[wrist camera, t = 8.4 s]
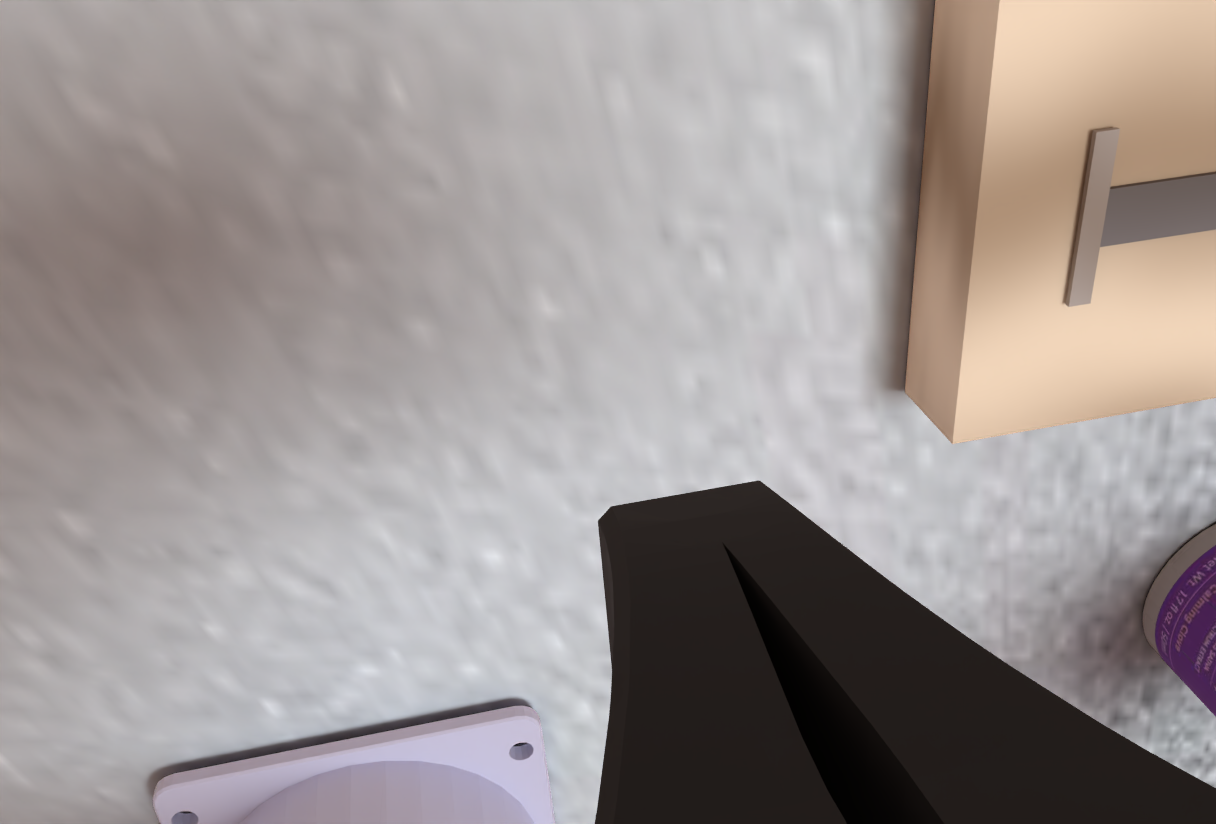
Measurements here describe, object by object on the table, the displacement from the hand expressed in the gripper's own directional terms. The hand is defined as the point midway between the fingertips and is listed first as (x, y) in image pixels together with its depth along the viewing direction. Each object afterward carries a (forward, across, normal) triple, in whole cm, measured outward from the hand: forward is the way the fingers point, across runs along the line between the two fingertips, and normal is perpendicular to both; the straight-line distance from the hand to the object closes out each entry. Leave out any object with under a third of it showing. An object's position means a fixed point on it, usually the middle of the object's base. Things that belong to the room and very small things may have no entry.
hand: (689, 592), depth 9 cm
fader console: (+10, -14, +1) cm, 17 cm away
